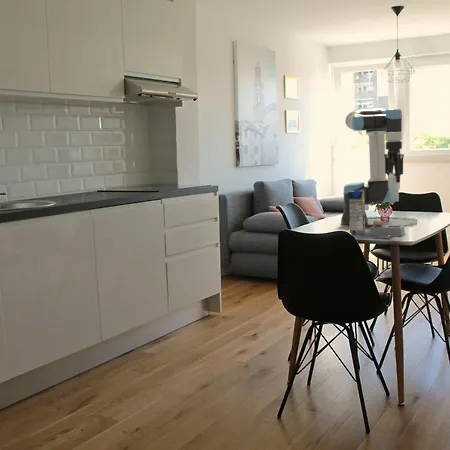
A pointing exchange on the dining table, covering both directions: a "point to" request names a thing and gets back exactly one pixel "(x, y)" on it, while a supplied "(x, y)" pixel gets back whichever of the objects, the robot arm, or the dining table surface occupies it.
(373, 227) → the housing
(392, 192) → the cartridge
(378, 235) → the mat
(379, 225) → the plunger
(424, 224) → the dining table surface
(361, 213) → the beverage box
